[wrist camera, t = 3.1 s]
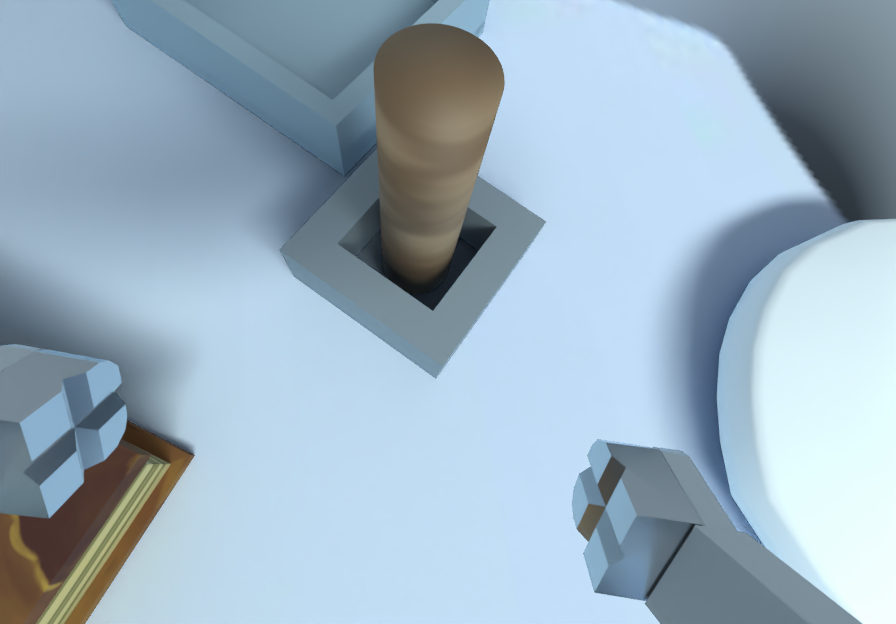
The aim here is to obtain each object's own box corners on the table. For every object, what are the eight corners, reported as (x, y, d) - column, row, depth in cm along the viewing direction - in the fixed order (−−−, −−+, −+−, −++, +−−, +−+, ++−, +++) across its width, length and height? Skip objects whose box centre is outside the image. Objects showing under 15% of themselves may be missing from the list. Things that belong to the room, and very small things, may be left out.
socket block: (293, 276, 26) (279, 249, 22) (398, 162, 29) (399, 124, 25) (435, 378, 25) (442, 366, 21) (527, 249, 28) (546, 221, 25)
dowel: (368, 267, 26) (345, 77, 13) (408, 220, 28) (425, 3, 14) (423, 306, 26) (457, 151, 13) (461, 256, 27) (528, 69, 14)
